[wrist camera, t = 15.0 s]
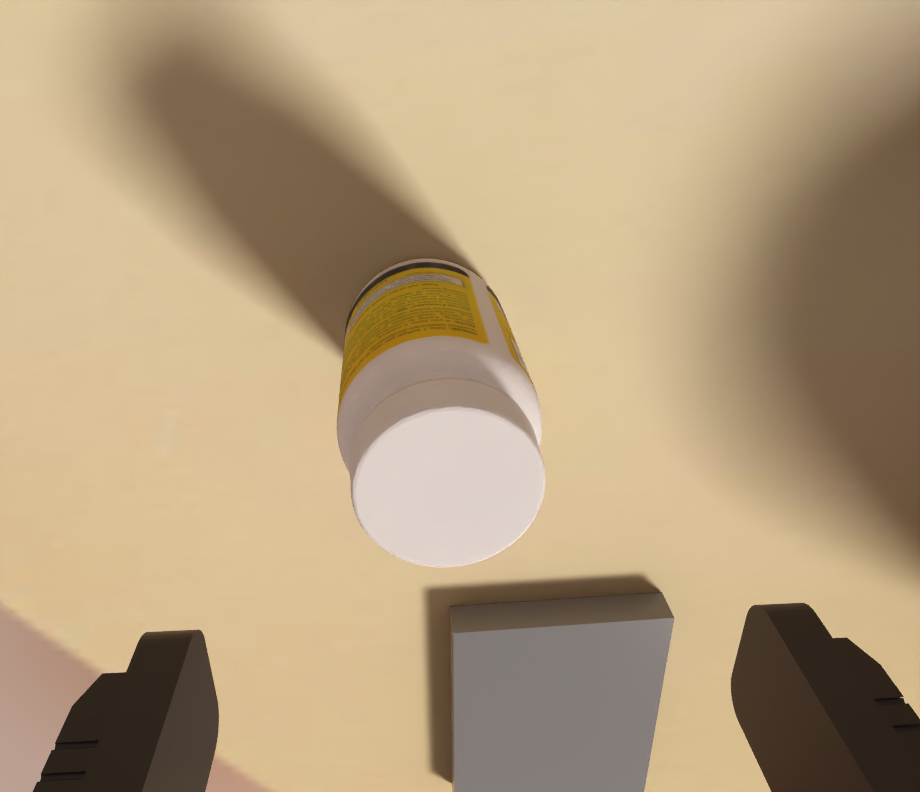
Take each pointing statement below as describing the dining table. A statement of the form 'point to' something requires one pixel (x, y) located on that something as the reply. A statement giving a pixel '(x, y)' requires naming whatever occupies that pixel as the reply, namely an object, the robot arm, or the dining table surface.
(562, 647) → the slate tile
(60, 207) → the dining table surface
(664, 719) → the dining table surface
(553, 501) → the dining table surface
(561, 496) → the dining table surface
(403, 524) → the supplement bottle
